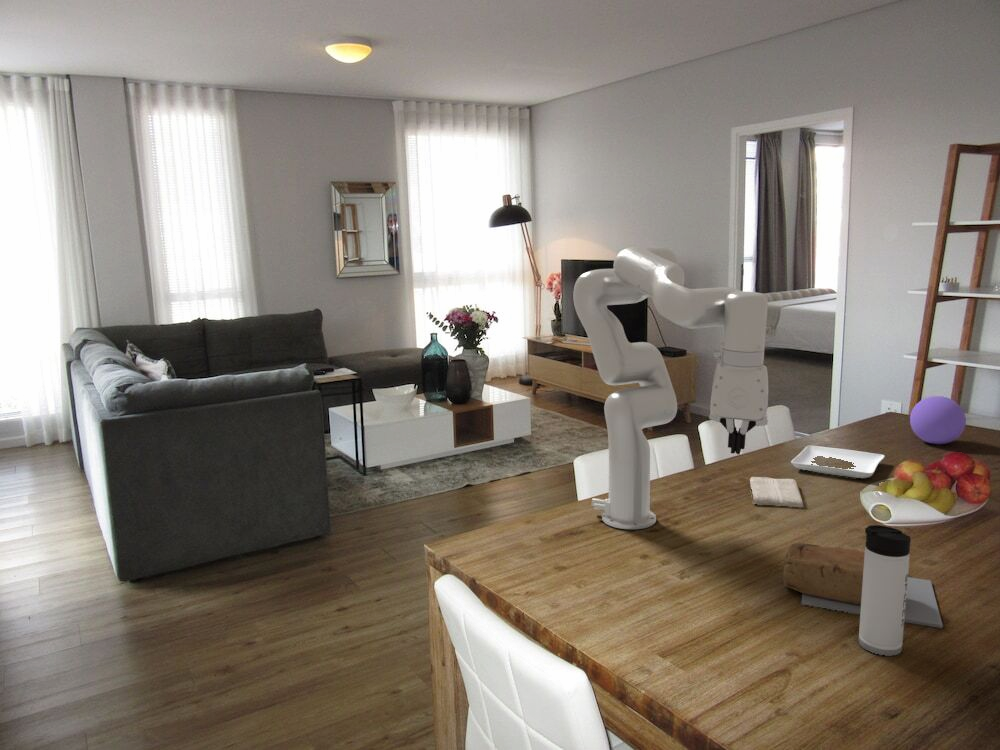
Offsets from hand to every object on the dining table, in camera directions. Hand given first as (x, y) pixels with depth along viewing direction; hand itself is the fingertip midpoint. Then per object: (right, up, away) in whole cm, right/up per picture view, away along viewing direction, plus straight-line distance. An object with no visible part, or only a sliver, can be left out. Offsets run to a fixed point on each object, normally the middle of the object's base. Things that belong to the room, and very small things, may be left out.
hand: (735, 451), depth 143 cm
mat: (+22, -26, -6) cm, 35 cm away
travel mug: (+16, -29, -23) cm, 40 cm away
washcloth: (+25, -17, +47) cm, 56 cm away
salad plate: (+50, -12, +68) cm, 86 cm away
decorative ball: (+91, -7, +90) cm, 128 cm away
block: (+9, -21, -2) cm, 23 cm away
